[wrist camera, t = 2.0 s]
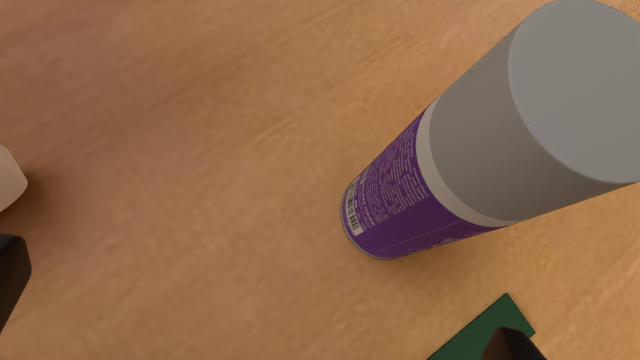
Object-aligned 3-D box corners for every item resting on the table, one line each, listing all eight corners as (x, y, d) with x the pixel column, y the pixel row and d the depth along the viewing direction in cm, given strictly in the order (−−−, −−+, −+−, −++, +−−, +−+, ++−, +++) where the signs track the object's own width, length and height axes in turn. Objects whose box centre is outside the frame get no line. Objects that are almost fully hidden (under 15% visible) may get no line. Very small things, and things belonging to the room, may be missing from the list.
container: (396, 278, 24) (648, 235, 10) (321, 222, 24) (464, 96, 10) (442, 206, 25) (719, 76, 11) (372, 153, 25) (559, -44, 11)
